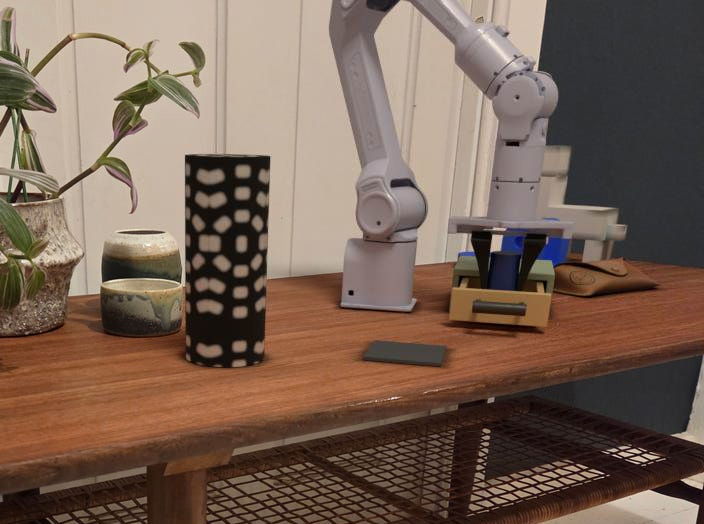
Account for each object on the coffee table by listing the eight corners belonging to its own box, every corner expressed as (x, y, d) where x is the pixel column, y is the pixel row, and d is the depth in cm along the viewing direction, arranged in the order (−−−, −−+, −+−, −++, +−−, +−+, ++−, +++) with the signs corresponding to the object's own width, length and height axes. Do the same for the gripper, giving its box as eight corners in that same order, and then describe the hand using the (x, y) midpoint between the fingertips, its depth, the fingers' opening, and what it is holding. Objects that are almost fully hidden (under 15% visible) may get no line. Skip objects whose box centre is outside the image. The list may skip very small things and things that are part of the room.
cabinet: (548, 318, 114) (555, 274, 112) (449, 311, 118) (453, 269, 115) (545, 300, 126) (551, 260, 124) (455, 294, 130) (459, 255, 127)
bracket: (563, 275, 147) (572, 219, 144) (532, 279, 143) (540, 222, 140) (477, 262, 161) (483, 210, 158) (446, 265, 156) (452, 212, 153)
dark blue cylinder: (484, 307, 110) (490, 254, 108) (485, 302, 113) (491, 250, 111) (514, 309, 109) (521, 255, 107) (514, 304, 112) (521, 251, 110)
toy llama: (609, 272, 152) (631, 148, 144) (512, 261, 162) (528, 145, 155) (624, 267, 157) (645, 147, 150) (529, 257, 168) (545, 145, 160)
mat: (363, 360, 93) (363, 356, 92) (374, 343, 100) (374, 340, 100) (440, 366, 90) (441, 363, 90) (446, 349, 98) (446, 345, 97)
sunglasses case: (590, 294, 127) (577, 251, 128) (552, 312, 133) (539, 271, 134) (665, 285, 136) (652, 244, 137) (626, 302, 142) (613, 263, 143)
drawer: (547, 334, 101) (552, 301, 100) (446, 326, 104) (449, 294, 103) (544, 308, 116) (548, 278, 115) (455, 302, 119) (458, 273, 118)
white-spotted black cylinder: (175, 351, 95) (173, 154, 88) (246, 345, 98) (250, 154, 90) (200, 370, 88) (201, 157, 80) (276, 363, 91) (284, 157, 83)
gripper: (451, 181, 104) (439, 296, 109) (581, 185, 100) (562, 304, 105) (455, 178, 110) (443, 287, 116) (578, 181, 106) (560, 294, 112)
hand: (500, 295), depth 111 cm, fingers closed on dark blue cylinder, 3 cm apart
